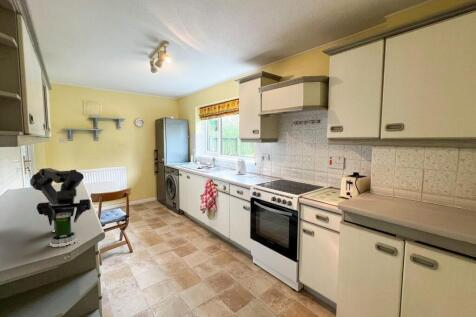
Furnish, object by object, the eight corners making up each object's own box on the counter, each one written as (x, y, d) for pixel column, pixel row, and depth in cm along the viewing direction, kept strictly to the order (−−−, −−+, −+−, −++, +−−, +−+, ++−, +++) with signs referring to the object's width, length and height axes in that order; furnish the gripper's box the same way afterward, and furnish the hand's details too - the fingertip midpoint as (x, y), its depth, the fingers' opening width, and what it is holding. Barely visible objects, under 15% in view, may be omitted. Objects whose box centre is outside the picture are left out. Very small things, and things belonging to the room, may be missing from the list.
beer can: (72, 240, 96) (71, 213, 95) (56, 244, 92) (56, 216, 91) (70, 237, 99) (69, 211, 99) (54, 240, 95) (54, 213, 95)
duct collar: (52, 240, 97) (52, 233, 97) (79, 236, 102) (79, 229, 102) (45, 249, 89) (45, 242, 88) (76, 244, 93) (76, 237, 93)
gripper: (37, 184, 93) (28, 217, 84) (89, 182, 102) (87, 211, 93) (43, 198, 100) (35, 230, 91) (91, 195, 109) (89, 223, 100)
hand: (62, 223), depth 94 cm, fingers open, 8 cm apart
